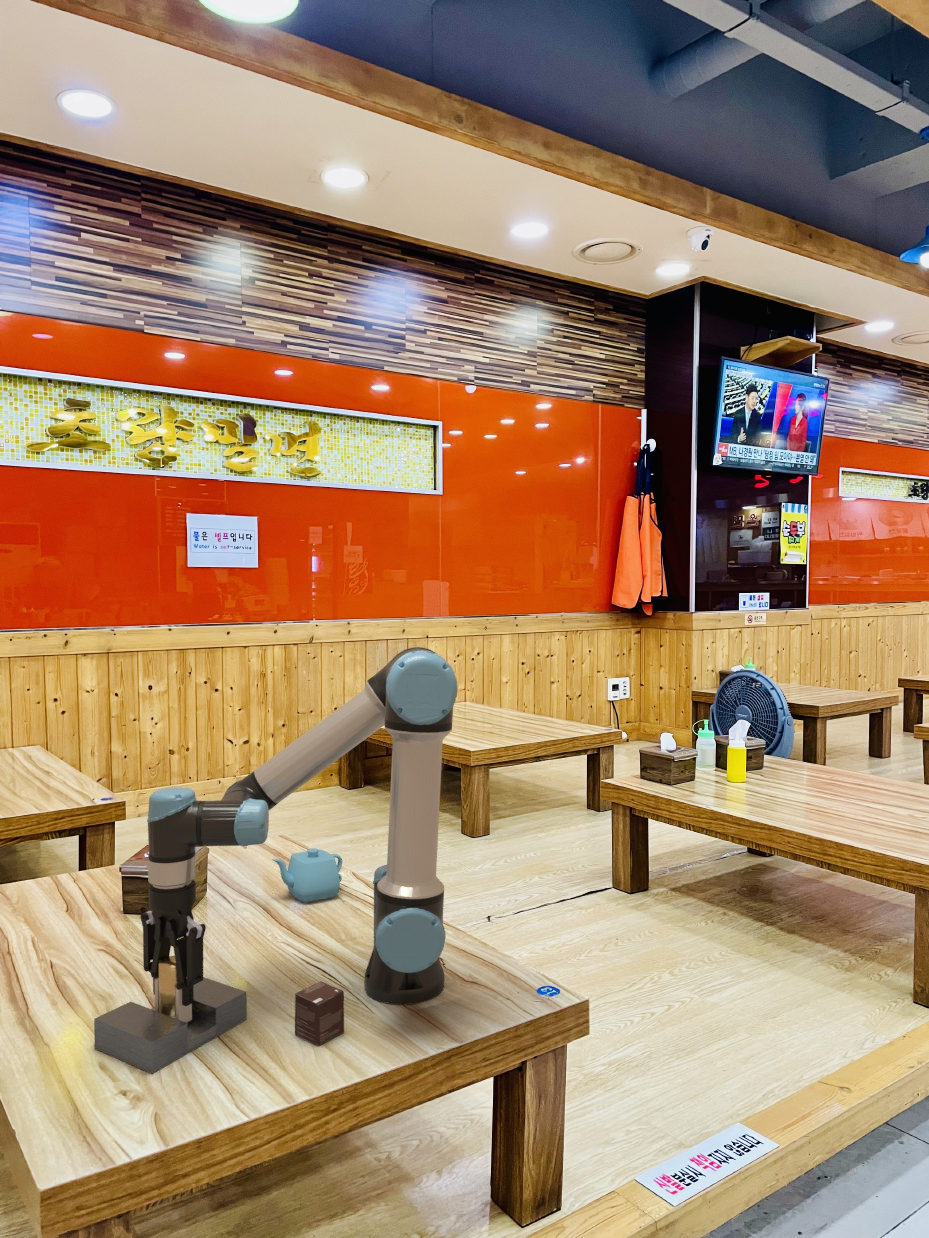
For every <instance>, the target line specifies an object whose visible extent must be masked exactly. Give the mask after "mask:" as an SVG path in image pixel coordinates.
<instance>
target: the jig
mask: <svg viewBox="0 0 929 1238" xmlns="http://www.w3.org/2000/svg"><path fill="white" fill-rule="evenodd" d="M193 991H194V994H193V995H194V1000H193V1003H192V1020H190V1021H189V1022H187V1023H186V1022H183V1021H180V1020H178V1019H175V1018H173V1017H170V1016H167V1015H165V1014H162V1013H160V1012H157V1011H155V1006H154V1007H151V1008H149V1007H146V1006H145V1005H141V1004H139V1003H137V1002H133V1001H129V1002H127V1003H125V1004H122V1005H120V1006H118V1007H116V1008H114V1009H111V1010H109V1011H108V1012H105V1013H103V1014H101V1015H99V1016H97V1017H95V1018H94V1019H93V1020H94V1021H93V1022H94V1023H93V1026H94V1028H93V1029H94V1035H93V1037H94V1038H93V1039H94V1050H96V1051H98V1052H101V1053H103V1054H105V1055H107V1056H110V1057H112V1058H115V1059H117V1060H118V1061H121V1062H124V1063H126V1064H128V1065H130V1066H133V1067H135V1068H137V1069H139V1070H142V1071H143V1072H146V1073H148V1074H151V1075H152V1074H154V1073H156V1072H158V1071H160V1070H162V1069H163V1068H165V1067H167V1066H169V1065H170V1064H172V1063H174V1062H176V1061H177V1060H179V1059H181V1058H183V1057H184V1056H186V1055H188V1054H189V1053H192V1052H193V1051H195V1050H197V1049H199V1048H200V1047H202V1046H203V1045H205V1044H207V1043H209V1042H210V1041H212V1040H214V1039H215V1038H218V1037H219V1036H221V1035H223V1034H225V1033H226V1032H228V1031H229V1030H232V1029H233V1028H235V1027H236V1026H238V1025H240V1024H242V1023H244V1022H245V1021H247V1018H248V1017H247V1016H248V1015H247V1011H248V1010H247V1009H248V1007H247V998H248V997H247V996H248V995H247V991H246V990H243V989H240V988H237V987H234V986H231V985H228V984H224V983H223V982H220V981H216V980H214V979H210V978H207V977H204V976H203V981H201V982H199V983H197V984H195V985H194V986H193Z"/></svg>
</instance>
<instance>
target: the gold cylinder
mask: <svg viewBox="0 0 929 1238" xmlns="http://www.w3.org/2000/svg"><path fill="white" fill-rule="evenodd" d="M186 978H187V977H186ZM177 985H179V979H178V972H177V966H176V960H175V954H174V955H169V956H168V957H165V958H163V959H161V960H160V961H159V1012H160V1013H162V1014H165V1015H167V1016H170V1017H173V1018H175V1019H176V986H177Z"/></svg>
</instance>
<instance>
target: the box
mask: <svg viewBox="0 0 929 1238" xmlns="http://www.w3.org/2000/svg"><path fill="white" fill-rule="evenodd" d="M294 995H295V996H294V1034H295V1035H294V1036H295V1037H297V1038H300V1039H303V1040H304V1041H307V1042H308V1043H311V1044H312V1045H313V1046H316V1047H320V1046H321V1045H322V1044H325V1043H326V1042H329V1041H330V1040H332V1039H333V1038H335V1037H338V1036H339V1035H341V1034H343V1033H344V1032H345V1005H344V1004H345V1003H344V1002H345V996H344V995H345V991H344V990H343V989H340V988H338V987H335V986H333V985H331V984H328V983H326V982H323V981H319V982H317V983H315V984H312V985H310V986H308V987H305V988H304V989H301V990H300V991H297V992H295V993H294Z"/></svg>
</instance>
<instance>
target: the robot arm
mask: <svg viewBox="0 0 929 1238" xmlns="http://www.w3.org/2000/svg"><path fill="white" fill-rule="evenodd" d="M457 697H458V680H457V676H456V674H455V671H454V670H453V668H452V666H451V664H450V663H449V662H448V661H447V660H446V659H445V658H444V657H442V656H441V655H439V654H438V653H436V652H435V651H434V650H431V649H429V648H425V647H421V646H419V647H418V646H415V647H409V648H406V649H404V650H402V651H400V652H398V653H397V654H396V655H395V656H393V657H392V658H391V660H390V661H389V662H388V663H387V664H385V666H383V667H382V668H381V669H380V670H379V671H378V672H376V673H375V674H374V675H373V676H372V677H370V678H368V680H366V681H365V684H364V689H363V690H361V691H360V692H359V693H358V694H356V695H355V696H354V697H352V698H351V699H349V700H348V701H347V702H345V703H343V705H341V706H340V707H339V708H337V709H336V710H334V711H333V712H331V713H330V714H329V715H328V716H326V717H325V718H324V719H322V720H320V722H317V724H315V725H314V726H313V727H311V728H310V729H308V730H307V731H306V732H304V733H303V734H302V735H301V736H299V737H298V738H296V739H295V740H293V741H292V742H291V743H290V744H288V745H287V746H286V747H284V748H283V749H281V750H280V751H278V752H277V753H276V754H275V755H273V756H272V757H270V758H269V759H267V761H265V762H264V763H263V764H261V765H260V766H259V767H257V768H255V769H254V771H252V772H251V773H249V774H248V775H246V776H245V777H243V778H242V779H239V780H237V781H235V782H234V783H232V784H231V785H230V786H229V787H228V788H227V789H226V791H225V792H224V794H223V797H222V798H221V800H197V797H196V793H195V790H194V789H193V788H190V787H181V786H177V787H175V786H174V787H173V786H171V787H165V788H161V789H158V790H155V791H154V792H153V793H152V794H150V795H149V799H148V812H147V813H148V816H147V818H146V819H147V821H146V822H147V833H148V834H147V835H148V836H147V837H148V838H147V840H148V858H147V861H148V862H147V863H148V864H147V867H148V868H147V870H148V871H147V881H148V883H149V884H150V885H148V907H149V908H150V909H151V910H148V911H146V912H144V913H141V914H140V916H139V917H140V921H141V925H142V946H143V948H142V953H143V954H142V955H143V956H142V957H143V959H142V960H143V961H142V962H143V971H145V972H146V973H147V972H149V973H150V976H151V977H152V990H153V991H152V992H153V995H154V1007H155V1011H157V1012H159V961H160V960H161V959H163V958H165V957H168V956H171V955H170V953H171V947H173V952H174V953H173V954H174V955H175V960H176V966H177V972H178V979H179V985H177V986H176V1019H178V1020H180V1021H183V1022H186V1023H187V1022H189V1021H190V1020H192V1003H193V1000H194V995H193V994H194V991H193V986H194V985H195V984H197V983H199V982H201V981H203V977H204V936H205V933H206V930H207V926H206V924H204V923H200V924H198V923H197V922H196V921H194V920H195V919H194V915H193V912H192V911H193V910H192V909H193V906H194V904H195V903H196V900H197V894H196V893H197V890H196V889H197V885H196V884H197V883H196V881H195V878H196V847H233V846H234V847H239V846H240V847H248V846H253V845H254V846H255V845H263V844H264V843H265V842H266V841H267V838H268V834H269V825H270V824H269V823H270V819H269V818H270V814H269V811H270V810H272V809H273V808H274V807H276V806H277V805H278V804H279V803H281V802H282V801H284V799H287V797H289V796H290V795H291V794H293V793H294V792H295V791H297V790H298V789H300V788H301V787H302V786H304V785H305V784H307V782H309V781H310V780H312V779H313V778H315V777H316V776H317V775H318V774H320V773H321V772H323V771H324V770H325V769H327V768H328V767H330V766H331V765H332V764H333V763H335V762H336V761H338V760H340V758H342V757H344V755H346V754H347V753H349V752H350V751H351V750H353V749H354V748H355V747H357V746H358V745H359V744H361V743H362V742H363V741H365V740H366V739H368V738H369V737H370V736H371V735H373V734H374V733H376V732H377V731H379V730H380V729H381V728H383V727H384V730H386V731H387V733H388V734H389V735H390V736H391V738H392V747H391V749H392V753H391V770H390V771H391V772H390V775H391V776H390V793H389V794H390V795H389V796H390V797H389V812H388V813H389V816H388V834H387V835H388V836H387V838H388V839H387V856H386V857H387V858H386V861H387V862H386V864H383V865H381V866H378V867H377V868H376V869H375V870H374V874H373V880H372V885H373V949H372V952H371V954H370V956H369V957H370V958H369V961H368V964H367V967H366V970H365V973H364V978H363V979H364V982H363V983H364V987H363V988H364V991H365V993H366V994H367V995H368V997H370V998H372V999H374V1000H375V1001H379V1002H381V1003H386V1004H391V1005H414V1004H420V1003H424V1002H427V1001H430V1000H432V999H434V998H436V997H437V996H439V995H440V994H441V993H442V992H443V991H444V989H445V970H444V969H443V967H442V963H441V959H440V957H441V954H442V952H443V950H444V947H445V942H446V930H445V926H444V902H445V901H444V900H445V899H444V897H445V885H444V883H443V882H442V881H441V880H440V879H439V877H437V862H438V844H439V825H440V824H439V822H440V821H439V819H440V802H441V801H440V800H441V785H442V783H441V782H442V779H441V778H442V764H443V762H442V760H443V742H444V739H445V738H447V736H448V735H449V734H450V733H451V732H452V731H453V719H454V716H453V715H454V706H455V703H456V700H457ZM186 977H187V978H186Z"/></svg>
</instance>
